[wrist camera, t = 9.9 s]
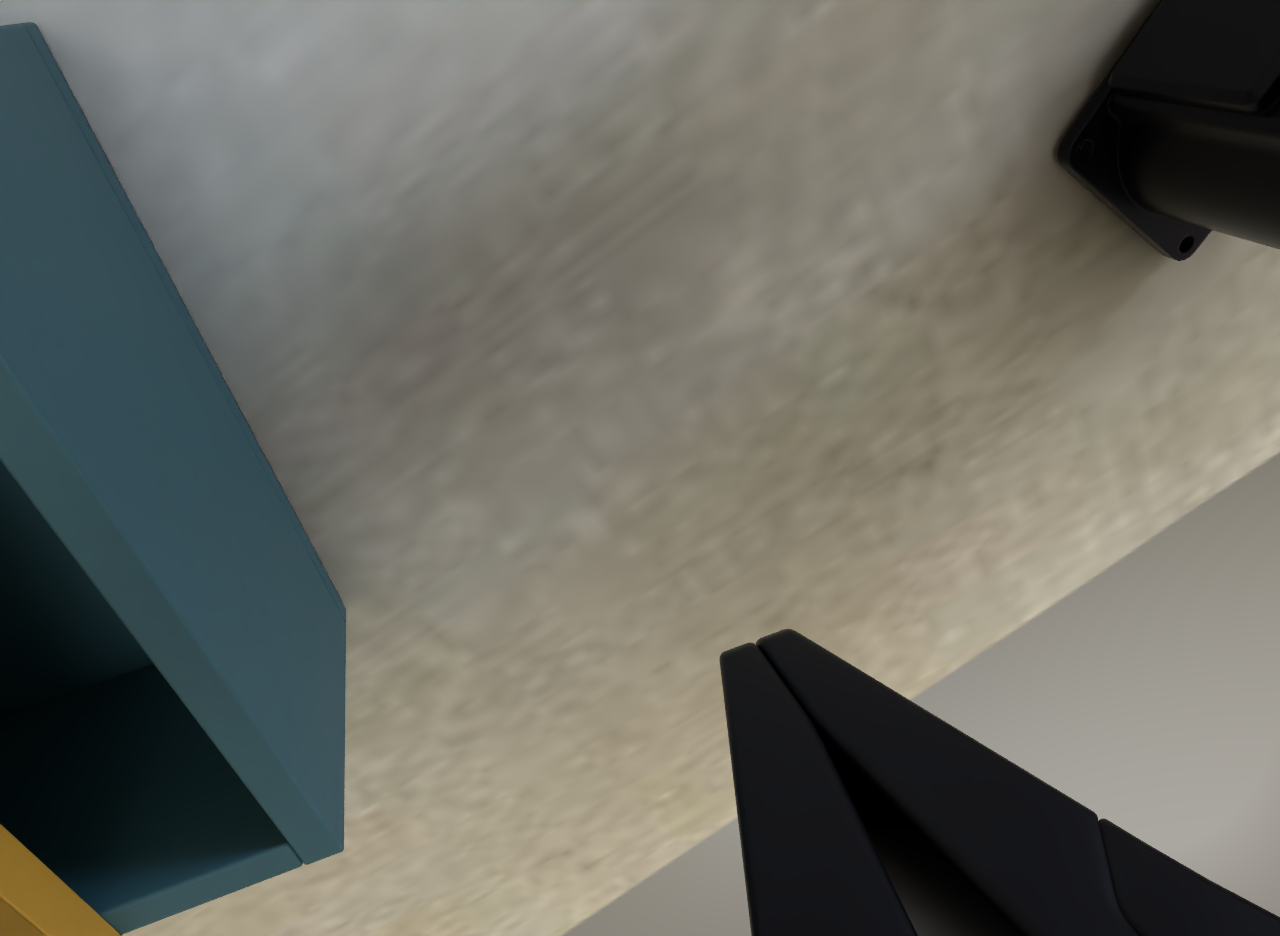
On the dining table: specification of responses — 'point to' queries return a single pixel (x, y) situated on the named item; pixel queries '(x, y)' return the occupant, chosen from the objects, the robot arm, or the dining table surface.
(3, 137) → the storage bin
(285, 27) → the dining table surface
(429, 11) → the dining table surface
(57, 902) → the bin lid
